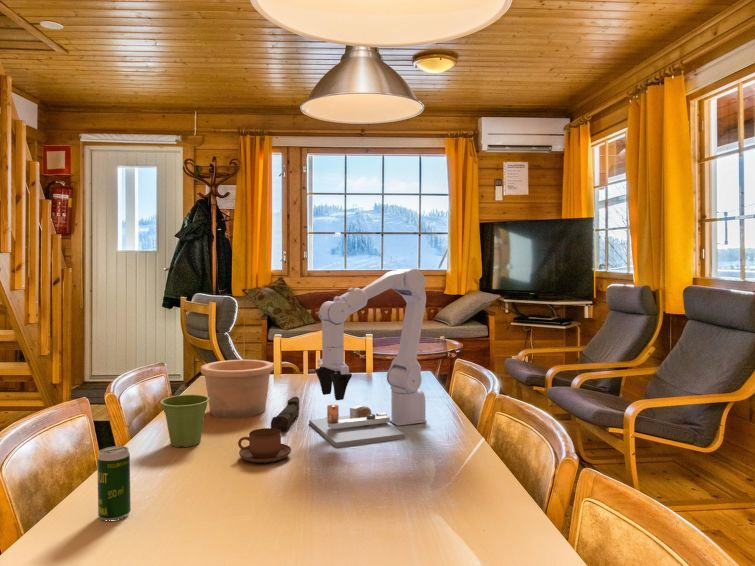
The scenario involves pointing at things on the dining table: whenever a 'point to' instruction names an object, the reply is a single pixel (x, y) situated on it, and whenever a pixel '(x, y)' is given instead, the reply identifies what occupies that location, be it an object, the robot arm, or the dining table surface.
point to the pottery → (237, 387)
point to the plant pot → (185, 418)
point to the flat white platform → (356, 431)
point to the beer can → (113, 483)
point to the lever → (369, 420)
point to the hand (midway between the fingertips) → (332, 396)
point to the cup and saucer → (264, 446)
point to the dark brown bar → (286, 415)
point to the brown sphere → (364, 412)
